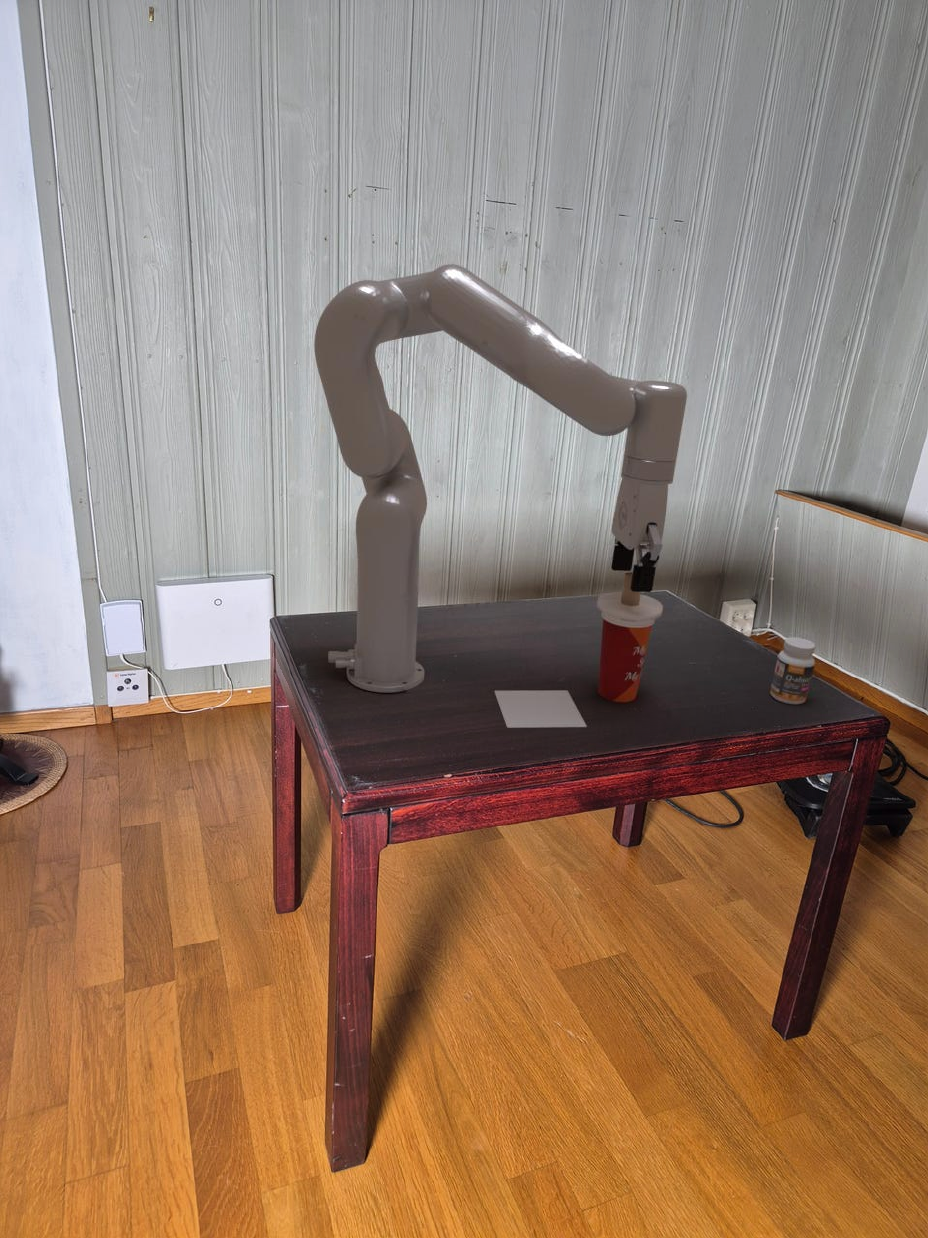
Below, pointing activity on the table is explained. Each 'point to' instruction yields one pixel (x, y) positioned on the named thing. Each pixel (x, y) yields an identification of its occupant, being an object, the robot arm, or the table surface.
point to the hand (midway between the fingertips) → (630, 580)
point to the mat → (539, 709)
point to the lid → (629, 604)
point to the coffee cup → (622, 657)
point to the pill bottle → (793, 671)
